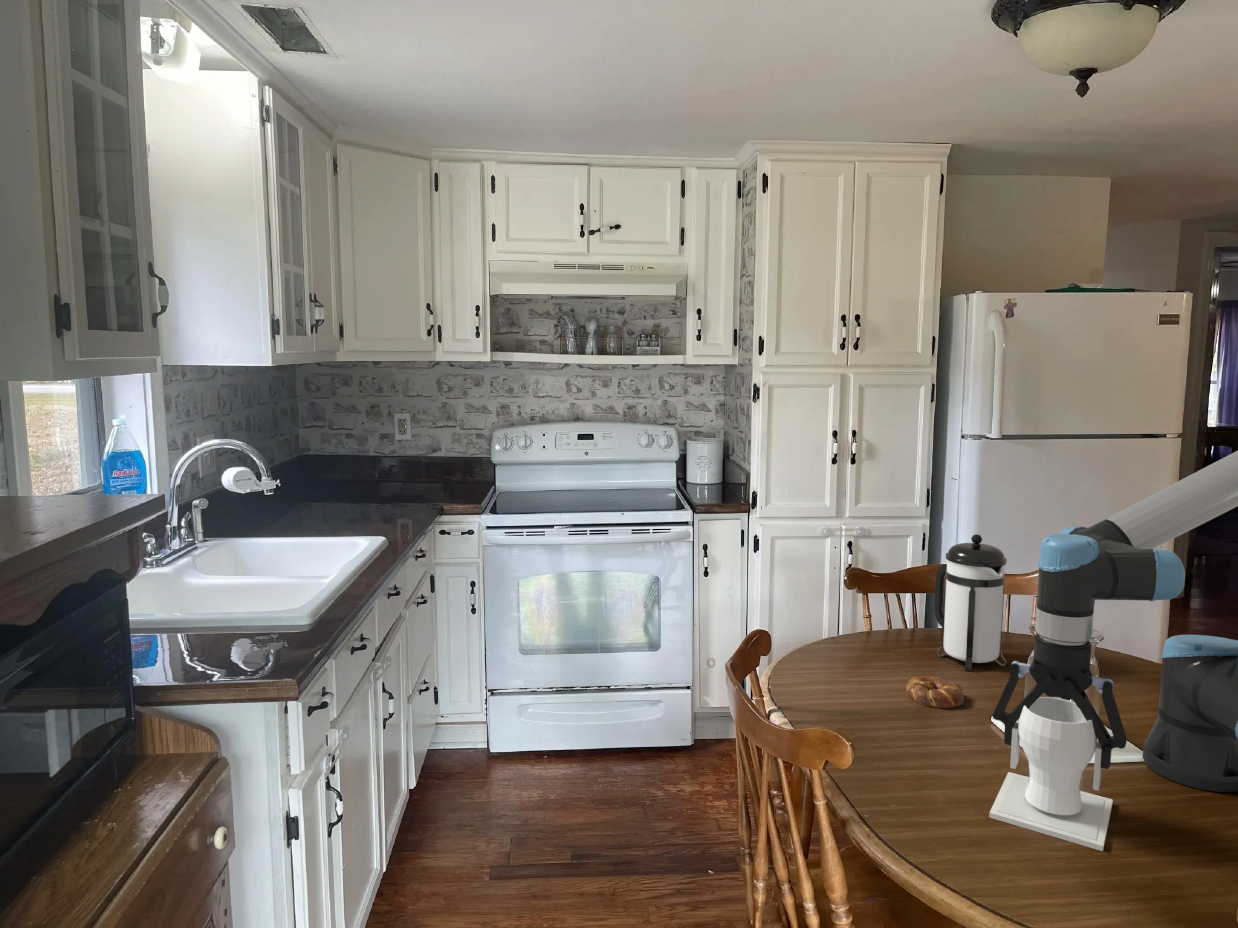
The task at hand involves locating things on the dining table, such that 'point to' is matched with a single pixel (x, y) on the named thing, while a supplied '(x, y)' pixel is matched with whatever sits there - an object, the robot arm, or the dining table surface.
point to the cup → (1055, 753)
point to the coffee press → (971, 602)
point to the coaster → (1053, 815)
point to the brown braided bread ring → (934, 692)
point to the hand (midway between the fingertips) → (1054, 775)
